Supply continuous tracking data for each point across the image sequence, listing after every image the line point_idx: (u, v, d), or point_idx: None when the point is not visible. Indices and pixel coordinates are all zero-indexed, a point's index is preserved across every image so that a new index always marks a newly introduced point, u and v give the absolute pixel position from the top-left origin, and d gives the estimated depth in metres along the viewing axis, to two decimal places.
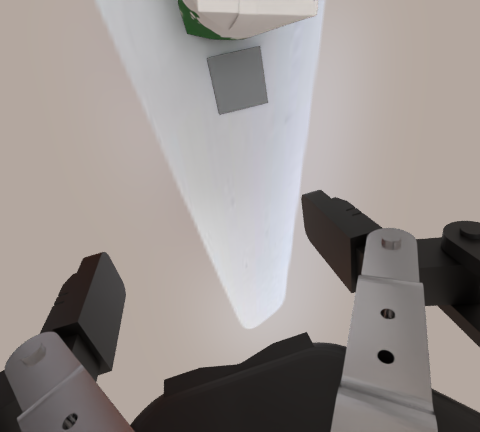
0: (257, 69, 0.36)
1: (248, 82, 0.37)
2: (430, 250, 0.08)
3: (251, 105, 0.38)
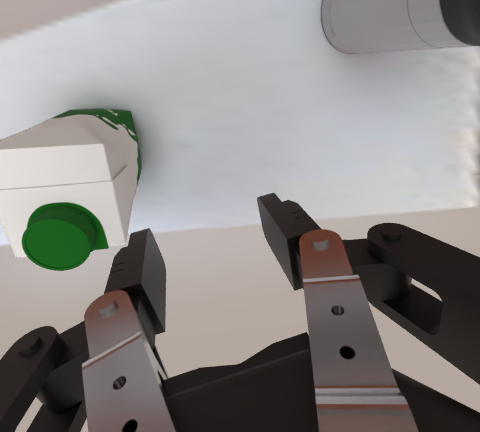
0: None
1: None
2: (357, 250, 0.09)
3: None
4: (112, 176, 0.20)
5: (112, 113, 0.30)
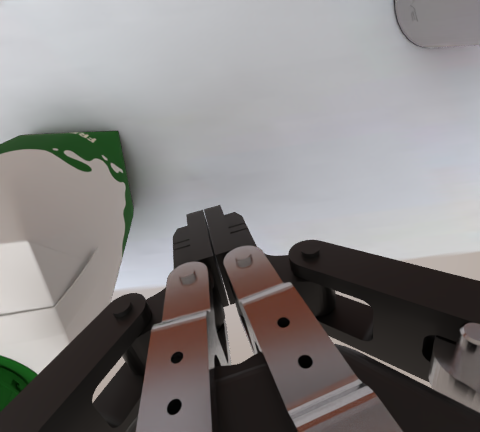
0: None
1: None
2: (281, 267, 0.09)
3: None
4: (58, 295, 0.10)
5: (86, 139, 0.19)
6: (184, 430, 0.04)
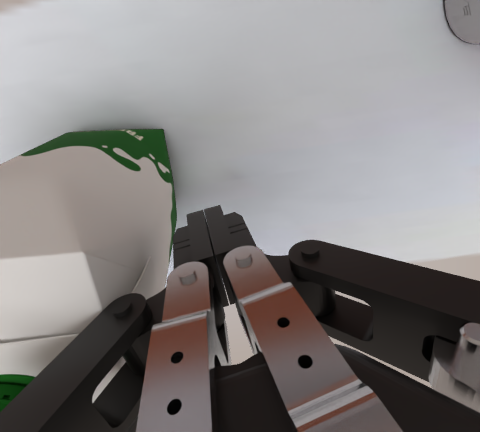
0: None
1: None
2: (281, 267, 0.09)
3: None
4: None
5: (134, 137, 0.18)
6: (184, 430, 0.04)
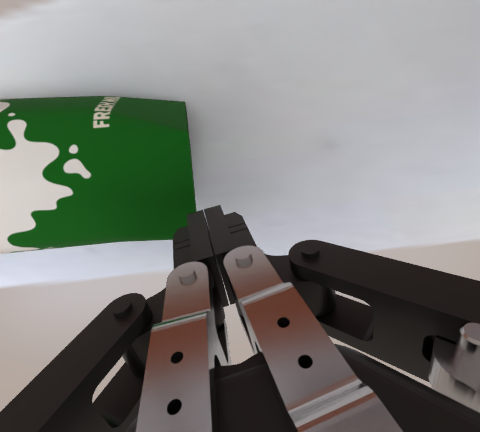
0: None
1: None
2: (281, 267, 0.09)
3: None
4: None
5: (90, 121, 0.15)
6: (184, 430, 0.04)
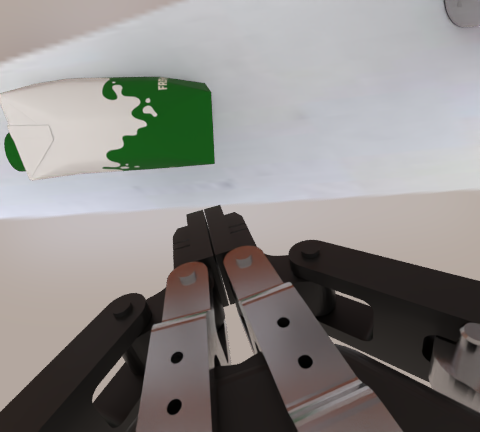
0: None
1: None
2: (281, 267, 0.09)
3: None
4: (12, 123, 0.26)
5: (156, 86, 0.27)
6: (183, 430, 0.04)
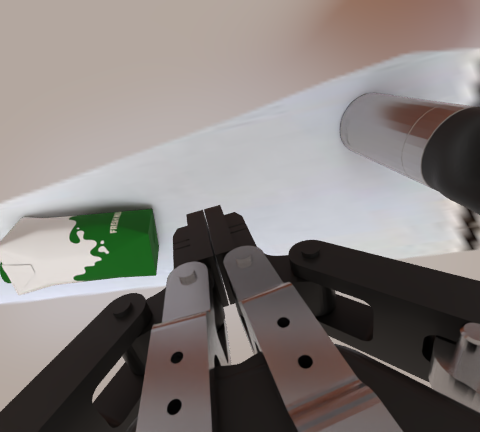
0: None
1: None
2: (281, 267, 0.09)
3: None
4: (5, 263, 0.36)
5: (109, 230, 0.38)
6: (183, 430, 0.04)
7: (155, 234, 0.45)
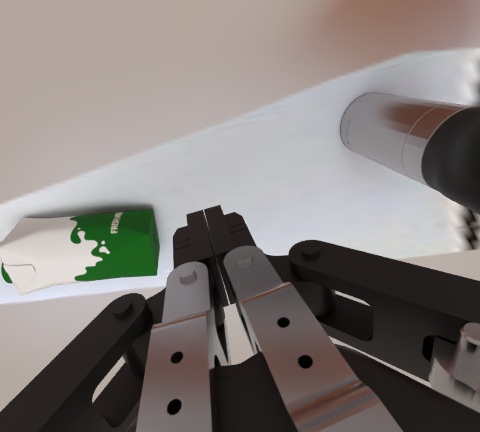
0: None
1: None
2: (281, 267, 0.09)
3: None
4: (6, 264, 0.36)
5: (109, 230, 0.38)
6: (184, 430, 0.04)
7: (156, 234, 0.45)
